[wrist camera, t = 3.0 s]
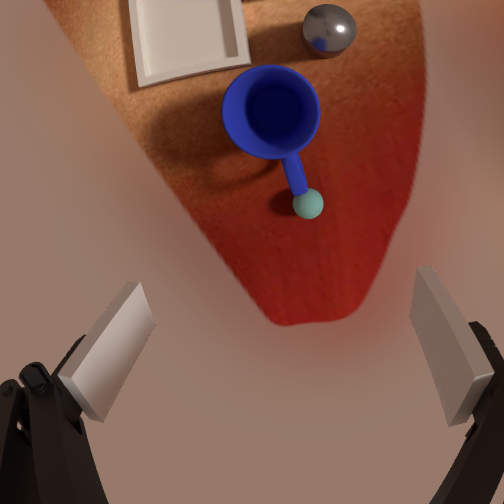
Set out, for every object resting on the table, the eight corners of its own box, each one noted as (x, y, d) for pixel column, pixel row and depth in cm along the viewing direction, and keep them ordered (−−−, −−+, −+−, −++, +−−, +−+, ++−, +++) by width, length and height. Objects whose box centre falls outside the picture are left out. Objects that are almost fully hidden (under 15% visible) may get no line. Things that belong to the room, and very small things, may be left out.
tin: (299, 20, 28) (299, 5, 22) (343, 18, 27) (352, 4, 21) (305, 59, 30) (307, 51, 24) (349, 58, 29) (360, 49, 24)
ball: (291, 185, 37) (291, 194, 34) (321, 183, 36) (323, 192, 33) (294, 213, 38) (293, 224, 35) (322, 211, 38) (325, 222, 34)
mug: (266, 184, 37) (257, 212, 28) (229, 89, 32) (206, 85, 24) (333, 164, 35) (346, 185, 26) (298, 66, 30) (300, 51, 21)
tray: (133, -25, 26) (126, -29, 24) (232, -53, 23) (229, -59, 22) (146, 87, 33) (138, 87, 31) (251, 65, 31) (249, 63, 29)
